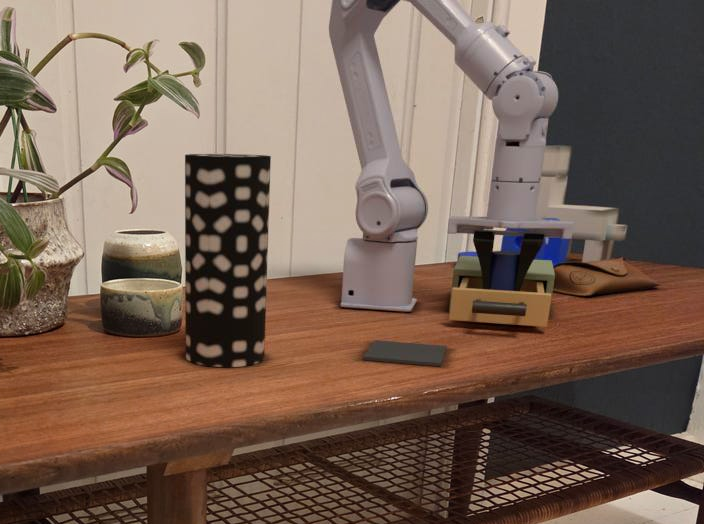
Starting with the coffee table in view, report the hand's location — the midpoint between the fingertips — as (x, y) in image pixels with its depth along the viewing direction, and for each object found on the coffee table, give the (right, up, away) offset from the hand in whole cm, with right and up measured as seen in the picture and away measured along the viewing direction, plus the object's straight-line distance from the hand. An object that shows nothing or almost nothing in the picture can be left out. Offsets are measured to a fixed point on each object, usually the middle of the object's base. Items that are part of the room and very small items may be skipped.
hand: (500, 295), depth 111 cm
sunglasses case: (+24, +6, +25) cm, 35 cm away
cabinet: (+3, +1, +11) cm, 11 cm away
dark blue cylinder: (0, -1, 0) cm, 1 cm away
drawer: (-1, -3, -1) cm, 3 cm away
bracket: (+13, +13, +41) cm, 45 cm away
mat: (-15, -10, -16) cm, 24 cm away
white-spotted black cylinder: (-35, -11, -18) cm, 41 cm away
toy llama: (+28, +16, +49) cm, 58 cm away
